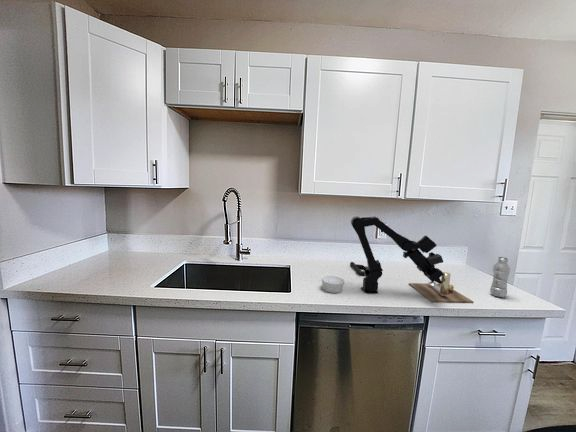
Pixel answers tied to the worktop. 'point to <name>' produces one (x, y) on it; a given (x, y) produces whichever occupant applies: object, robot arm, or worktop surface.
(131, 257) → the worktop surface
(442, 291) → the beige lever tool
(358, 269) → the door handle
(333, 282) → the ramekin
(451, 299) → the walnut board
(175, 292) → the worktop surface
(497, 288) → the plastic bottle
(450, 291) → the plate
